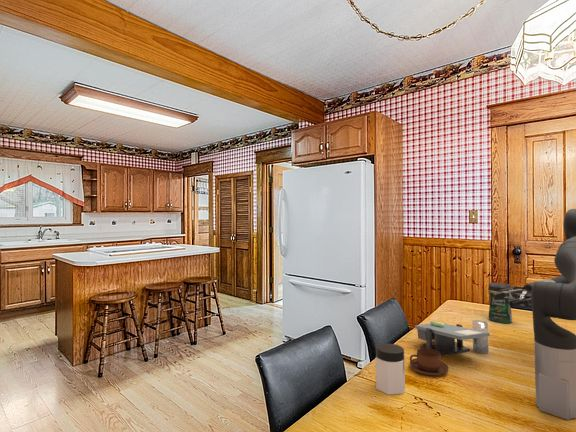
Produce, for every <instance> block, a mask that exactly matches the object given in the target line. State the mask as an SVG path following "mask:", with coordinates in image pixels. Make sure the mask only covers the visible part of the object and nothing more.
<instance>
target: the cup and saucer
mask: <svg viewBox="0 0 576 432" xmlns="http://www.w3.org/2000/svg"><path fill="white" fill-rule="evenodd" d="M413 357H415V358H413ZM441 358H442V356H440V352H439V351H437V350H434V349H429V348H421V349H420V348H418V349H417V350H416V354H411V355H410V356H409V365H410V367H411V368H412V369H413V370H414V371H416V372H417V373H420V374H423V375H426V376H442V375H444V374H446V373H447V372H449V365H448V364H447V363H446V362H444V361H441Z"/></svg>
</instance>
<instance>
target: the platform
mask: <svg viewBox="0 0 576 432" xmlns="http://www.w3.org/2000/svg"><path fill="white" fill-rule="evenodd" d="M426 328H430V329H432V341H435V337H434V333H435V334H439V335H443V336H447V337H451V338H455V340H457V339H459V340H463V341H465V340H473V338H481V337H488V338H489V337H490V332H489V331H488V332H484V331H479V330H474V329H472V328H468V327H464V326H462V327H459V326H456V325H454V324H448V323H443V322H440V321H435V320H434V321H433V320H430V322H429V323H424V324H416V325H414V329H415V330H416V331H417V339H419V340H422V341H425V342H427V341H426Z"/></svg>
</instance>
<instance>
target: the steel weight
mask: <svg viewBox="0 0 576 432" xmlns="http://www.w3.org/2000/svg"><path fill="white" fill-rule="evenodd" d="M471 321H472V322H471V323H472V325H471V327H472V328H471V329H474V330H479V331H484V332H488V333H489V323H488V322H487V321H485V320H481V319H474V320H471ZM489 350H490V349H489V336H488V337H481V338H473V339H472V351H473V352H474V353H477V354H482V355H487V354H489V353H490V351H489Z"/></svg>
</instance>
